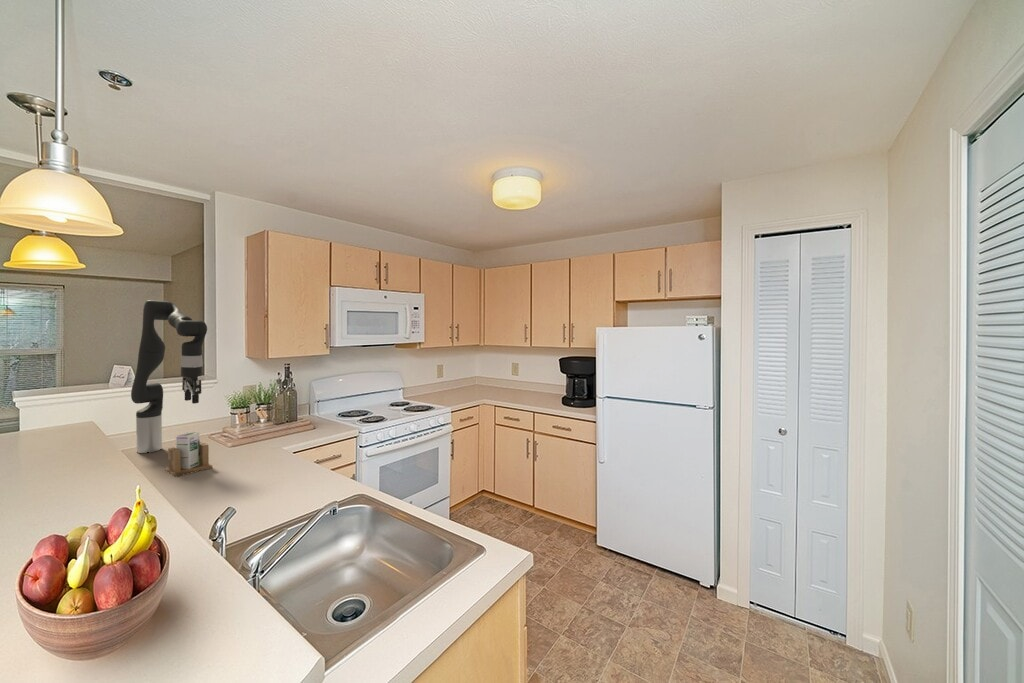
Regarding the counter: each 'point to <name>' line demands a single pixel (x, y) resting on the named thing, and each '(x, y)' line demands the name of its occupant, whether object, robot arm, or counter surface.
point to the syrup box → (189, 449)
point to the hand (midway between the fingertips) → (191, 401)
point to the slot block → (175, 461)
